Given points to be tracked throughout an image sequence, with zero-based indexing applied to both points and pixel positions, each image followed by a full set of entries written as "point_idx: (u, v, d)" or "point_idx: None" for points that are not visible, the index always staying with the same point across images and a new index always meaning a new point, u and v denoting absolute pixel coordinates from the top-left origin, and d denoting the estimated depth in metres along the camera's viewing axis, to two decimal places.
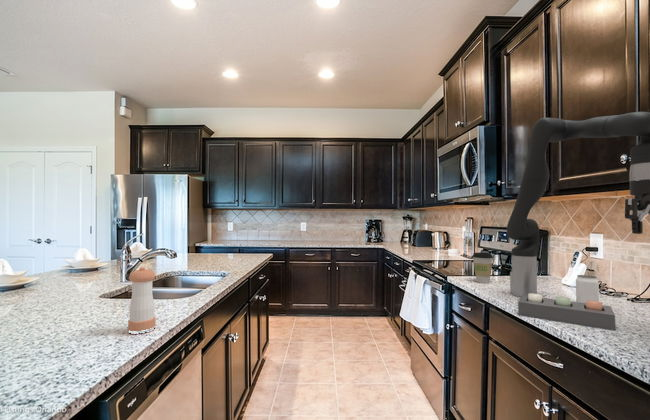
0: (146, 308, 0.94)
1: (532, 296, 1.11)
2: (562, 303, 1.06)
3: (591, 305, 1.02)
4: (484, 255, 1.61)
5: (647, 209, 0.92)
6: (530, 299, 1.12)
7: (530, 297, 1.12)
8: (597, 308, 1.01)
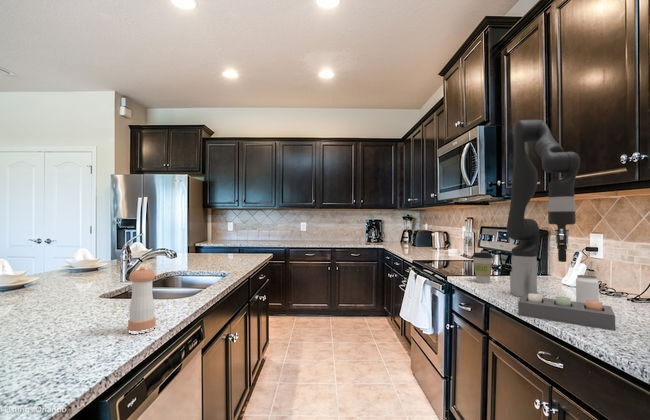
0: (146, 308, 0.94)
1: (532, 296, 1.11)
2: (562, 303, 1.06)
3: (591, 305, 1.02)
4: (484, 255, 1.61)
5: None
6: (530, 299, 1.12)
7: (530, 297, 1.12)
8: (597, 308, 1.01)
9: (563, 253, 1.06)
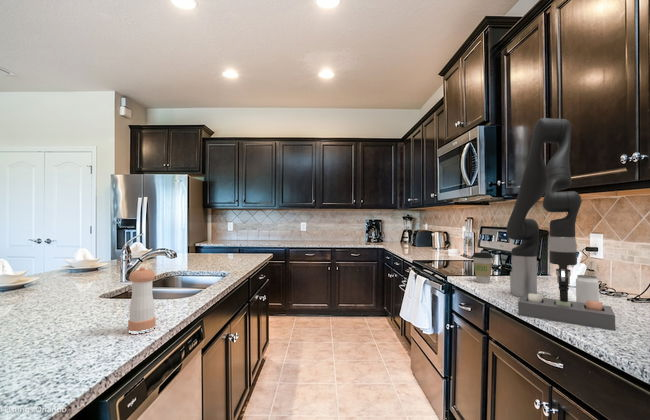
0: (146, 308, 0.94)
1: (532, 296, 1.11)
2: None
3: (591, 305, 1.02)
4: (484, 255, 1.61)
5: None
6: (530, 299, 1.12)
7: (530, 297, 1.12)
8: (597, 308, 1.01)
9: (565, 293, 1.06)
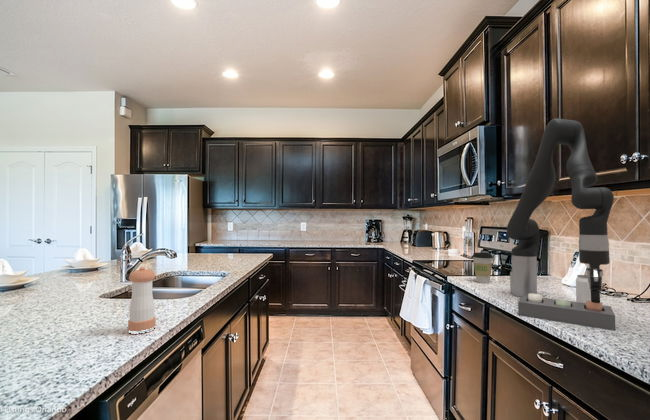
0: (146, 308, 0.94)
1: (532, 296, 1.11)
2: None
3: (591, 305, 1.02)
4: (484, 255, 1.61)
5: None
6: (530, 299, 1.12)
7: (530, 297, 1.12)
8: (597, 308, 1.01)
9: (597, 294, 1.01)
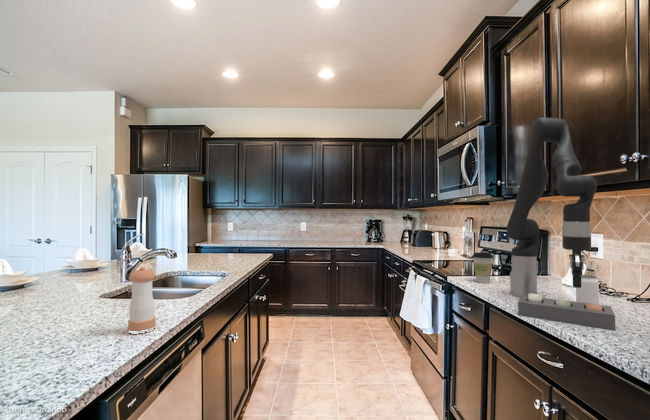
0: (146, 308, 0.94)
1: (532, 296, 1.11)
2: None
3: (591, 308, 1.01)
4: (484, 255, 1.61)
5: None
6: (530, 299, 1.12)
7: (530, 297, 1.12)
8: None
9: (578, 279, 1.04)
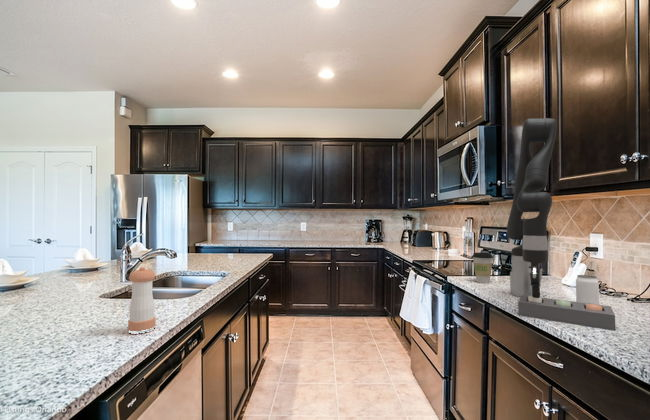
0: (146, 308, 0.94)
1: (532, 299, 1.11)
2: None
3: (591, 308, 1.01)
4: (484, 255, 1.61)
5: None
6: None
7: (530, 300, 1.12)
8: None
9: (536, 290, 1.11)
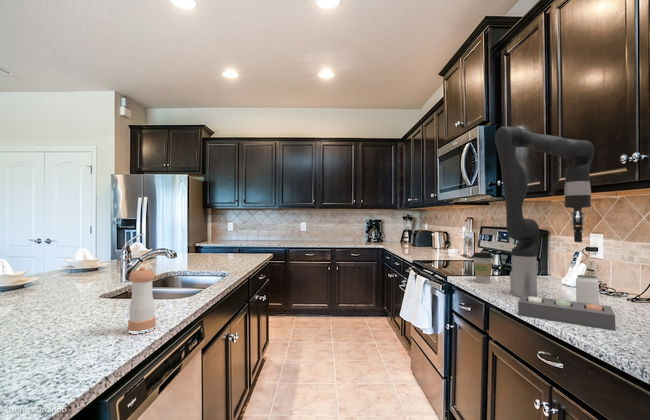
0: (146, 308, 0.94)
1: (532, 299, 1.11)
2: None
3: (591, 308, 1.01)
4: (484, 255, 1.61)
5: None
6: None
7: (530, 300, 1.12)
8: None
9: (579, 234, 1.14)
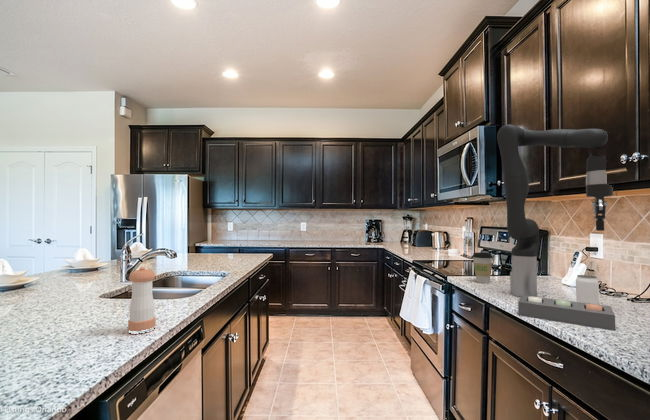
0: (146, 308, 0.94)
1: (532, 299, 1.11)
2: None
3: (591, 308, 1.01)
4: (484, 255, 1.61)
5: (593, 210, 1.19)
6: None
7: (530, 300, 1.12)
8: None
9: (601, 222, 1.15)
